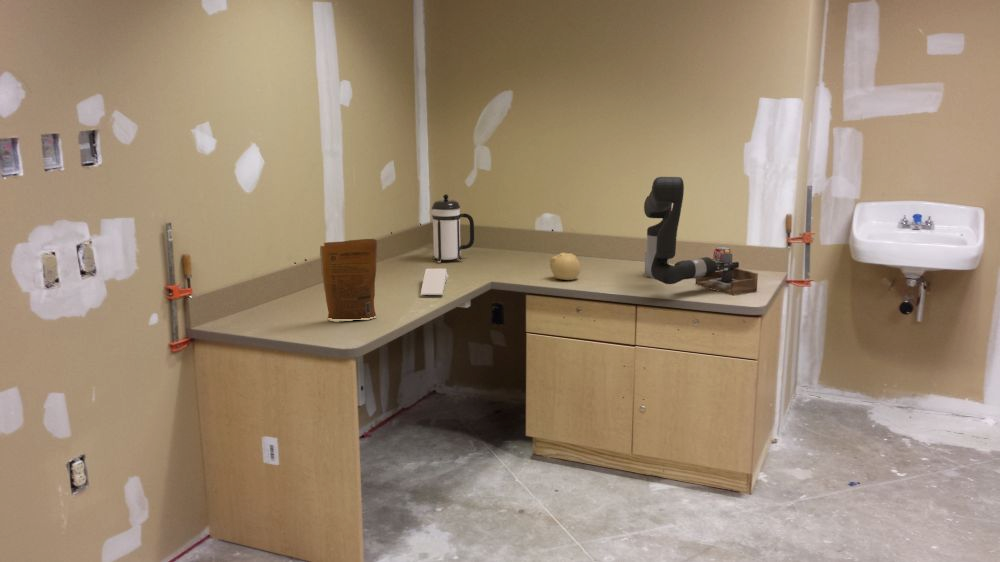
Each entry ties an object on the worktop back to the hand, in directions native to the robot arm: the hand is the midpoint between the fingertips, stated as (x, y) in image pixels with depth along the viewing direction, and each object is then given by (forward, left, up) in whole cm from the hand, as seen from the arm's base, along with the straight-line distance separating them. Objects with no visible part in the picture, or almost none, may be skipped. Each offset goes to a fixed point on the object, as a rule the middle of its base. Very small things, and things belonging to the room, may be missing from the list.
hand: (732, 263), depth 344 cm
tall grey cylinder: (0, -3, -8) cm, 8 cm away
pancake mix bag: (-28, -145, -9) cm, 148 cm away
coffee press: (-104, -72, -9) cm, 127 cm away
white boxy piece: (-56, -101, -10) cm, 116 cm away
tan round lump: (-45, -48, -10) cm, 66 cm away
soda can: (-16, +9, -9) cm, 21 cm away
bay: (0, -3, -9) cm, 10 cm away
